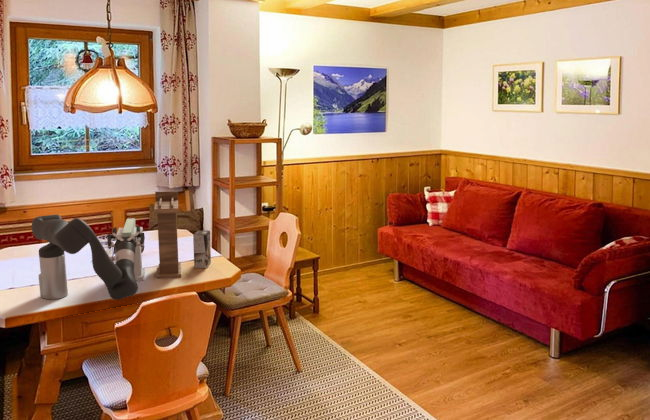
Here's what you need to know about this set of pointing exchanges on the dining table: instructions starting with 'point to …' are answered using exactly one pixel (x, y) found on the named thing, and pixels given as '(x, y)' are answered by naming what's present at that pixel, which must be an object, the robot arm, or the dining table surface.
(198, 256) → the coffee box
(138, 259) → the post
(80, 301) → the dining table surface
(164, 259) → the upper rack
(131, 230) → the batten
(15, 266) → the dining table surface
